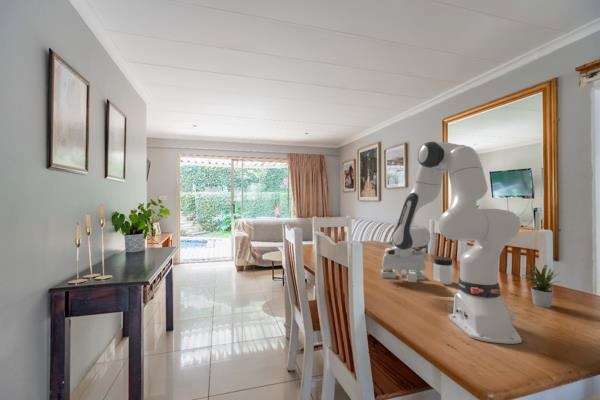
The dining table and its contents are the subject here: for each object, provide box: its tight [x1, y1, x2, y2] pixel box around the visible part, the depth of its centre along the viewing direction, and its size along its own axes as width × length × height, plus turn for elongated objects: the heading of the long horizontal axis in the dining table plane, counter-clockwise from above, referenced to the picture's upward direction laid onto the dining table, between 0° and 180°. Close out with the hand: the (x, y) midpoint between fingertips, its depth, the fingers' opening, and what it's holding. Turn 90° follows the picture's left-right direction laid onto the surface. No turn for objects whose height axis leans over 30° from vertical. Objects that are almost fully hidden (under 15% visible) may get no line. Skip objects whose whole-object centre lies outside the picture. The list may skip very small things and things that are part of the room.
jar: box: [433, 256, 454, 286], centre depth 142 cm, size 9×8×12 cm
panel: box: [380, 268, 426, 281], centre depth 145 cm, size 14×22×4 cm, turn 77°
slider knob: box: [406, 272, 418, 283], centre depth 140 cm, size 4×4×4 cm
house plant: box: [519, 263, 561, 308], centre depth 113 cm, size 14×14×16 cm
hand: (403, 278), depth 141 cm, fingers closed
